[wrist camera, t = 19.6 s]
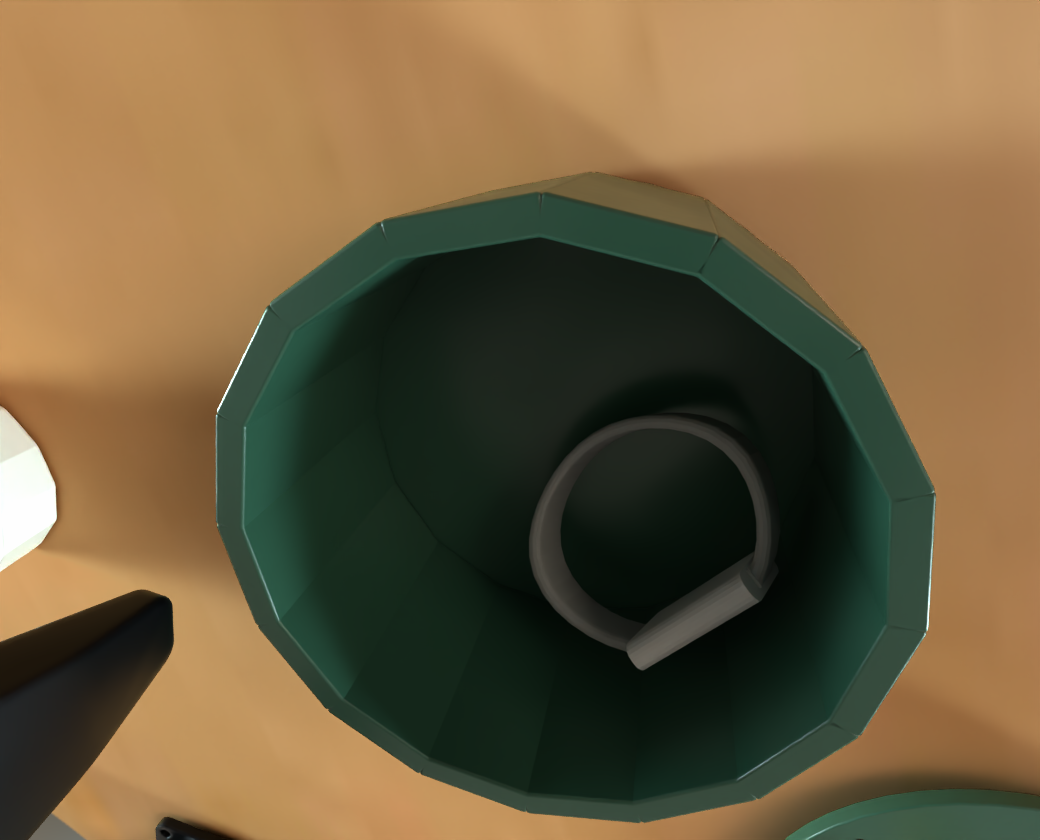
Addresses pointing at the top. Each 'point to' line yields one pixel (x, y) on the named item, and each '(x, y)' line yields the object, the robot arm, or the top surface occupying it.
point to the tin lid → (932, 817)
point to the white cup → (22, 492)
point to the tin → (572, 499)
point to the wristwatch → (695, 608)
